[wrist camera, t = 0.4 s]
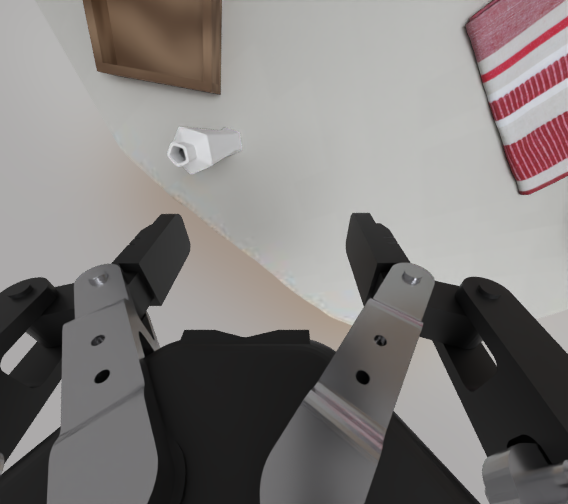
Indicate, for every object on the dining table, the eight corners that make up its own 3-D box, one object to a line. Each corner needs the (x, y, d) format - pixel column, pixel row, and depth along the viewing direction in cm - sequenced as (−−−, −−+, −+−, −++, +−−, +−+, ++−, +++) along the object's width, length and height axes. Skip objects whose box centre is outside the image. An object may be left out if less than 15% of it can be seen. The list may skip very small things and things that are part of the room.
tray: (85, -100, 24) (56, -127, 22) (222, -78, 24) (210, -103, 21) (115, 75, 32) (97, 71, 29) (220, 94, 32) (211, 92, 29)
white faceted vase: (236, 118, 33) (184, 116, 20) (249, 149, 35) (208, 167, 22) (209, 130, 34) (143, 137, 21) (223, 160, 36) (170, 183, 23)
